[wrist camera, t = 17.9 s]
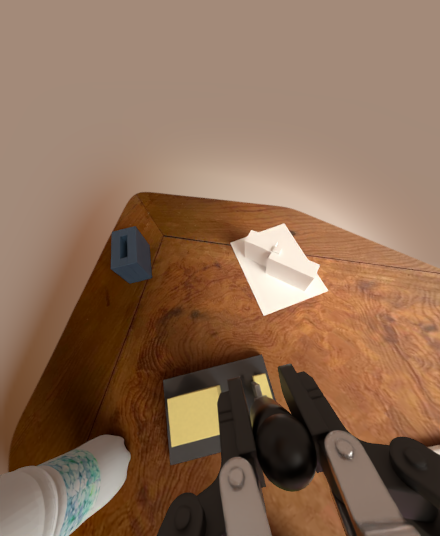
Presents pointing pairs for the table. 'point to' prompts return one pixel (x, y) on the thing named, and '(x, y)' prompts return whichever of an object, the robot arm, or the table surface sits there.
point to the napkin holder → (277, 269)
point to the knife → (282, 444)
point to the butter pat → (263, 384)
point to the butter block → (193, 415)
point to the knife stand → (130, 255)
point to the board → (220, 377)
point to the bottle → (62, 489)
